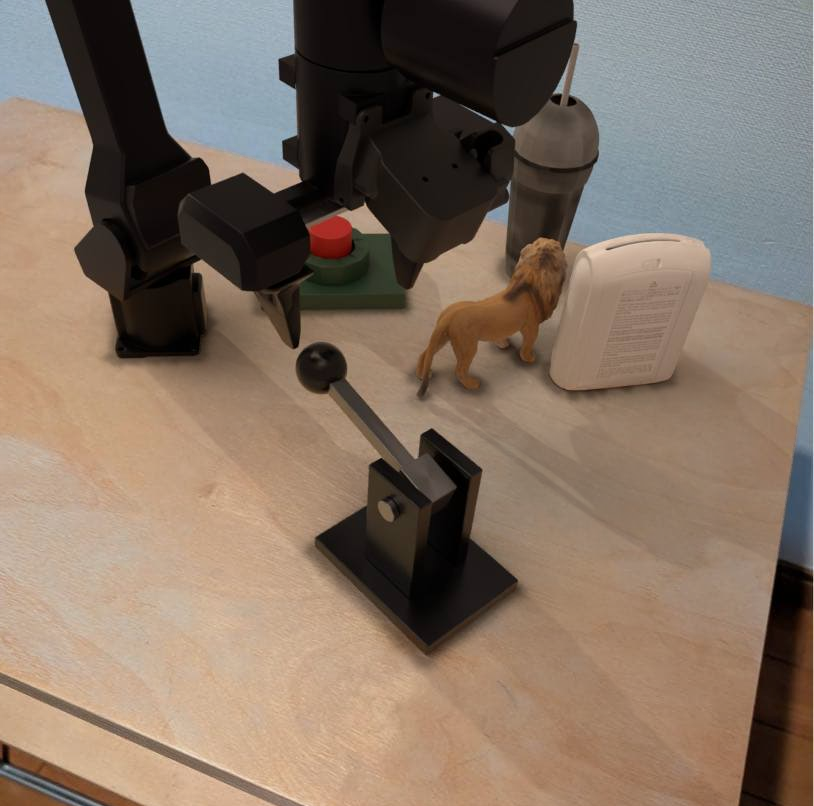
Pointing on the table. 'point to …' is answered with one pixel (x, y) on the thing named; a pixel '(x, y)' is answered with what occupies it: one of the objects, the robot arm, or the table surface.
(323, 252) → the button
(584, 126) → the beverage cup
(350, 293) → the control block
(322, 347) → the lever
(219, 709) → the table surface
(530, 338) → the lion figurine
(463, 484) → the bracket
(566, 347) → the photo printer
